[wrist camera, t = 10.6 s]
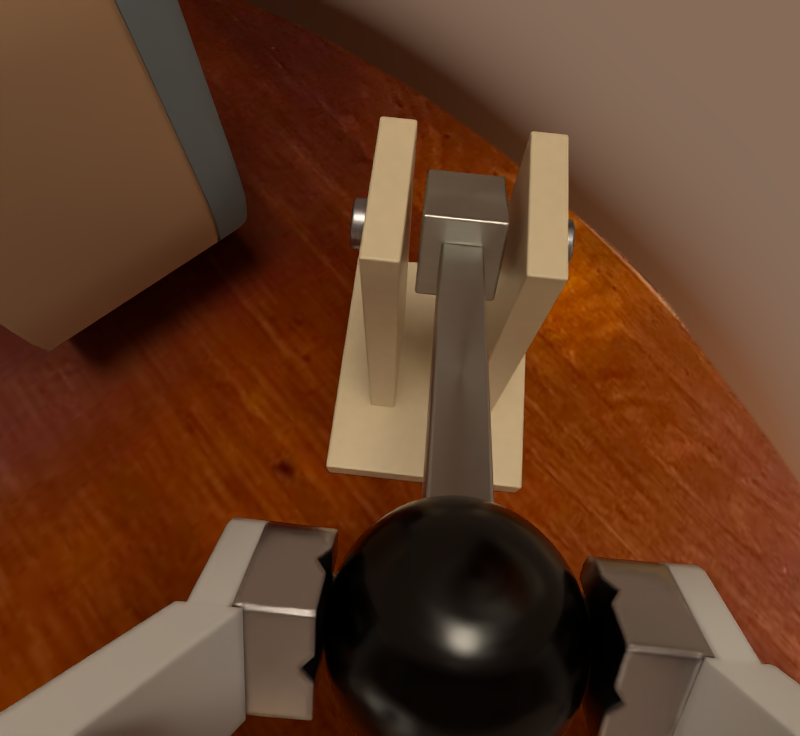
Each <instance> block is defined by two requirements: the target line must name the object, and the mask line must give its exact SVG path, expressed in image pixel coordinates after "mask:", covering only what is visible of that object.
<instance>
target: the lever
mask: <svg viewBox="0 0 800 736" xmlns="http://www.w3.org/2000/svg"><path fill="white" fill-rule="evenodd" d="M509 228H510V218H509V210H508V201H507V192H506V184H505V178H504V177H501V176H491V175H481V174H471V173H461V172H451V171H441V170H428V173H427V181H426V189H425V198H424V206H423V214H422V224H421V234H420V244H419V253H418V263H417V273H416V283H415V292H416V293H419V294H429V295H436V299H435V314H434V328H433V342H432V357H431V371H430V386H429V400H428V414H427V429H426V443H425V458H424V472H423V487H422V499H420V500H416V501H413V502H410V503H408V504H405V505H403V506H401V507H398V508H396V509H395V510H393V511H391V512H390V513H388V514H386V515H385V516H383V517H382V518H380V519H379V520H378V521H376V522H375V523H374V524H372V525H371V526H370V527H369V528H368V529H367V530H366V531H365V532H364V533H363V534H362V535H361V536H360V537H359V538H358V540H357V541H356V542H355V543H354V545H353V546H352V547H351V549H350V550H349V551H348V553H347V554H346V556H345V557H344V559H343V561H342V563H341V564H340V566H339V568H338V571H337V573H336V576H335V578H334V580H333V583H332V585H331V588H330V591H329V595H328V599H327V603H326V610H325V616H324V625H323V651H324V658H325V664H326V670H327V674H328V678H329V681H330V685H331V688H332V692H333V694H334V696H335V699H336V701H337V703H338V706H339V708H340V710H341V712H342V713H343V715H344V717H345V718H346V720H347V722H348V724H349V725H350V727H351V728H352V729H353V731H354V732H355V733H356V734H357V736H564V734H565V733H566V731H567V730H568V728H569V726H570V725H571V723H572V721H573V719H574V717H575V715H576V713H577V711H578V709H579V707H580V705H581V702H582V699H583V696H584V693H585V690H586V684H587V679H588V673H589V668H590V660H591V639H590V628H589V620H588V615H587V611H586V606H585V602H584V600H583V597H582V594H581V591H580V588H579V586H578V584H577V581H576V579H575V577H574V575H573V573H572V571H571V569H570V567H569V566H568V564H567V562H566V561H565V559H564V558H563V556H562V555H561V553H560V552H559V551H558V550H557V548H556V547H555V546H554V545H553V543H552V542H551V541H550V540H549V539H548V538H547V537H546V536H545V535H544V534H543V533H542V532H541V531H540V530H539V529H538V528H536V527H535V526H534V525H533V524H531V523H530V522H529V521H528V520H526V519H525V518H523V517H522V516H520V515H519V514H517V513H515V512H513V511H512V510H510V509H508V508H506V507H504V506H501V505H499V504H496V503H494V485H493V461H492V437H491V413H490V389H489V365H488V341H487V317H486V301H493V300H494V298H495V294H496V289H497V284H498V280H499V275H500V270H501V266H502V261H503V256H504V252H505V247H506V242H507V238H508V233H509Z"/></svg>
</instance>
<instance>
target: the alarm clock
mask: <svg viewBox="0 0 800 736" xmlns="http://www.w3.org/2000/svg"><path fill="white" fill-rule="evenodd" d="M246 216H247V208H246V197H245V194H244V190H243V187H242V183H241V180H240V177H239V173H238V171H237V168H236V165H235V162H234V159H233V156H232V154H231V151H230V148H229V145H228V142H227V139H226V137H225V134H224V131H223V128H222V125H221V122H220V120H219V117H218V114H217V111H216V108H215V105H214V102H213V100H212V97H211V94H210V91H209V88H208V85H207V83H206V80H205V77H204V74H203V71H202V68H201V66H200V63H199V60H198V57H197V54H196V51H195V49H194V46H193V43H192V40H191V37H190V34H189V32H188V29H187V26H186V23H185V20H184V17H183V15H182V12H181V9H180V6H179V3H178V0H0V324H1V325H3V326H4V327H6V328H7V329H9V330H10V331H12V332H13V333H15V334H17V335H18V336H20V337H21V338H23V339H24V340H26V341H28V342H29V343H31V344H32V345H35V346H37V347H40V348H42V349H45V350H47V351H51V350H53V349H54V348H56V347H57V346H59V345H60V344H62V343H63V342H65V341H66V340H68V339H69V338H71V337H72V336H74V335H76V334H77V333H79V332H80V331H82V330H83V329H85V328H86V327H88V326H89V325H91V324H92V323H94V322H96V321H97V320H99V319H100V318H102V317H103V316H105V315H106V314H108V313H109V312H111V311H112V310H114V309H115V308H117V307H119V306H120V305H122V304H123V303H125V302H126V301H128V300H129V299H131V298H132V297H134V296H135V295H137V294H139V293H140V292H142V291H143V290H145V289H146V288H148V287H149V286H151V285H152V284H154V283H155V282H157V281H158V280H160V279H162V278H163V277H165V276H166V275H168V274H169V273H171V272H172V271H174V270H175V269H177V268H178V267H180V266H181V265H183V264H185V263H186V262H188V261H189V260H191V259H192V258H194V257H195V256H197V255H198V254H200V253H201V252H203V251H205V250H206V249H208V248H209V247H211V246H212V245H214V244H215V243H217V242H218V241H220V240H221V239H223V238H224V237H226V236H228V235H229V234H231V233H232V232H234V231H235V230H237V229H238V228H240V227H241V226H242V225H243V224H244V223H245V221H246Z"/></svg>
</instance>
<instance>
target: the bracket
mask: <svg viewBox="0 0 800 736" xmlns="http://www.w3.org/2000/svg"><path fill="white" fill-rule="evenodd" d="M416 136H417V120H412V119H402V118H392V117H381V118H380V121H379V128H378V134H377V141H376V147H375V154H374V160H373V167H372V173H371V180H370V186H369V193H368V199H367V198H356V199H355V201H354V204H353V209H352V217H351V230H350V241H351V247H352V248H353V249H360V251H359V258H358V262H357V268H356V275H355V281H354V287H353V294H352V300H351V307H350V313H349V320H348V326H347V333H346V339H345V346H344V352H343V359H342V365H341V372H340V378H339V385H338V391H337V398H336V404H335V411H334V417H333V424H332V430H331V437H330V443H329V450H328V456H327V462H326V467H327V469H328V471H329V472H333V473H343V474H352V475H361V476H370V477H379V478H388V479H397V480H406V481H415V482H423V472H424V458H425V443H426V429H427V414H428V400H429V386H430V371H431V357H432V342H433V328H434V314H435V299H436V295H429V294H419V293H416V292H415V283H416V273H417V263H414V262H408V259H409V244H410V229H411V213H412V198H413V183H414V167H415V152H416ZM508 210H509V218H510V228H509V233H508V238H507V242H506V247H505V252H504V256H503V261H502V266H501V270H500V275H499V280H498V284H497V289H496V294H495V298H494V300H493V301H486V317H487V341H488V365H489V389H490V413H491V437H492V461H493V485H494V490H496V491H505V492H516V491H518V490H519V489H520V488H521V486H522V454H523V421H524V388H525V355H526V351H527V349H528V348H529V346H530V344H531V343H532V341H533V339H534V337H535V336H536V334H537V332H538V330H539V329H540V327H541V325H542V324H543V322H544V320H545V318H546V317H547V315H548V313H549V311H550V310H551V308H552V306H553V305H554V303H555V301H556V299H557V298H558V296H559V294H560V292H561V291H562V289H563V287H564V286H565V284H566V282H567V280H568V264H569V262H570V259H571V256H572V252H573V247H574V240H575V226H574V222H573V220H571V219H568V135H564V134H554V133H544V132H534V131H533V132H531V134H530V137H529V140H528V143H527V147H526V150H525V153H524V156H523V159H522V162H521V166H520V169H519V172H518V175H517V178H516V182H515V185H514V188H513V191H512V194H511V198H510V201H509V204H508Z"/></svg>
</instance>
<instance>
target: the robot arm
mask: <svg viewBox="0 0 800 736" xmlns="http://www.w3.org/2000/svg"><path fill="white" fill-rule="evenodd" d="M337 554H338V530H337V529H330V528H322V527H314V526H306V525H298V524H291V523H283V522H275V521H269V522H268V521H263V520H255V519H247V518H238V517H234V518H233V519H232V520H231V521H229V522H228V523H227V525H226V527H225V529H224V531H223V533H222V535H221V536H220V538H219V540H218V542H217V544H216V546H215V548H214V550H213V552H212V554H211V556H210V558H209V560H208V561H207V563H206V565H205V567H204V569H203V571H202V573H201V575H200V577H199V579H198V581H197V583H196V584H195V586H194V588H193V590H192V592H191V594H190V596H189V598H188V600H187V602H181V601H174V602H173V603H171V604H170V605H168V606H166V607H165V608H163V609H162V610H160V611H159V612H157V613H155V614H154V615H152V616H151V617H149V618H148V619H146V620H145V621H143V622H141V623H140V624H138V625H137V626H135V627H134V628H132V629H130V630H129V631H127V632H126V633H124V634H123V635H121V636H119V637H118V638H116V639H115V640H113V641H112V642H110V643H109V644H107V645H105V646H104V647H102V648H101V649H99V650H98V651H96V652H94V653H93V654H91V655H90V656H88V657H87V658H85V659H83V660H82V661H80V662H79V663H77V664H76V665H74V666H73V667H71V668H69V669H68V670H66V671H65V672H63V673H62V674H60V675H58V676H57V677H55V678H54V679H52V680H51V681H49V682H48V683H46V684H44V685H43V686H41V687H40V688H38V689H37V690H35V691H33V692H32V693H30V694H29V695H27V696H26V697H24V698H22V699H21V700H19V701H18V702H16V703H15V704H13V705H12V706H10V707H8V708H7V709H5V710H4V711H2V712H1V713H0V736H231V735H232V734H233V733H234V732H235V731H236V730H237V728H238V727H239V726H240V725H241V724H242V723H243V722H244V721H245V720H246V715H250V716H263V717H275V718H288V719H300V720H312V717H313V712H314V708H315V703H316V698H317V693H318V689H319V684H320V679H321V675H322V657H323V625H324V616H325V610H326V603H327V599H328V595H329V591H330V588H331V585H332V583H333V580H334V578H335V574H334V573H333V572H334V568H335V563H336V558H337ZM580 581H581V584H582V588H583V591H584V594H583V595H582V597H583V600H584V602H585V606H586V611H587V615H588V620H589V628H590V639H591V660H590V668H589V673H588V679H587V684H586V690H585V693H584V696H583V699H582V707H583V711H584V714H585V718H586V722H587V726H588V730H589V734H590V736H800V684H798V683H797V682H796V681H794V680H793V679H792V678H790V677H789V676H788V675H786V674H785V673H784V672H782V671H781V670H780V669H778V668H777V667H776V666H774V665H769V664H761V662H760V660H759V659H758V657H757V655H756V654H755V652H754V651H753V649H752V647H751V646H750V644H749V642H748V641H747V639H746V637H745V636H744V634H743V633H742V631H741V629H740V628H739V626H738V624H737V623H736V621H735V619H734V618H733V616H732V615H731V613H730V611H729V610H728V608H727V606H726V605H725V603H724V602H723V600H722V598H721V597H720V595H719V593H718V592H717V590H716V588H715V587H714V585H713V584H712V582H711V580H710V579H709V577H708V575H707V574H706V572H705V571H704V570H703V569H702V568H700V567H699V566H698V565H690V564H678V563H665V562H660V563H655V562H645V561H634V560H624V559H614V558H604V557H594V556H588V557H587V559H586V561H585V562H584V564H583V567H582V571H581V574H580Z"/></svg>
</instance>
